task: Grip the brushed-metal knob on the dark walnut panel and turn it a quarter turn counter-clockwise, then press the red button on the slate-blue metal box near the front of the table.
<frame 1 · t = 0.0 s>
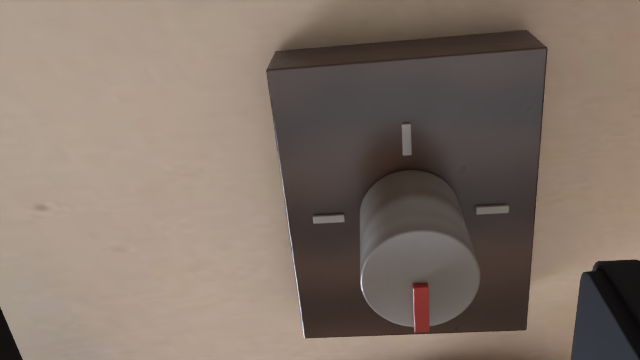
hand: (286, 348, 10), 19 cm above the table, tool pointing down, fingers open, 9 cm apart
knob: (414, 246, 24), point 6 cm above the table, hinge at 0.0°
dial panel: (404, 182, 29), on the table
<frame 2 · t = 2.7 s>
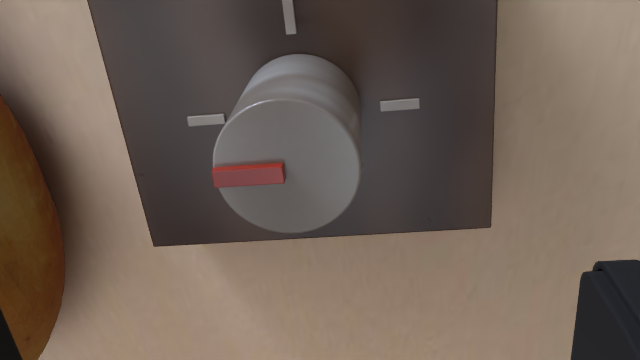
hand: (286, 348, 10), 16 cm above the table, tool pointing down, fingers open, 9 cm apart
knob: (294, 139, 19), point 6 cm above the table, hinge at 0.0°
dial panel: (308, 87, 24), on the table
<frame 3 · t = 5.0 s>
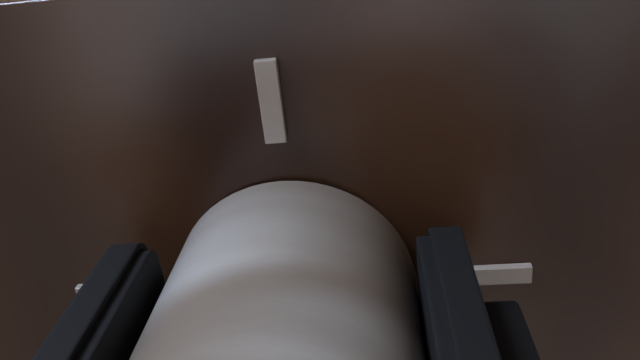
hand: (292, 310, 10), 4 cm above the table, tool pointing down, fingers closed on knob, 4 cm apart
dial panel: (308, 204, 14), on the table
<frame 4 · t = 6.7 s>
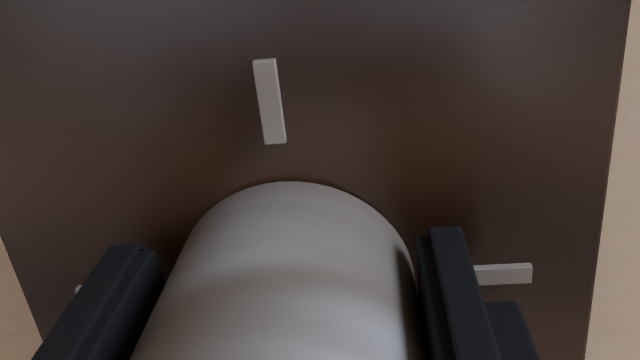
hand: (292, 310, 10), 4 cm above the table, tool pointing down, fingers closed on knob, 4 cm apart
dial panel: (308, 204, 14), on the table
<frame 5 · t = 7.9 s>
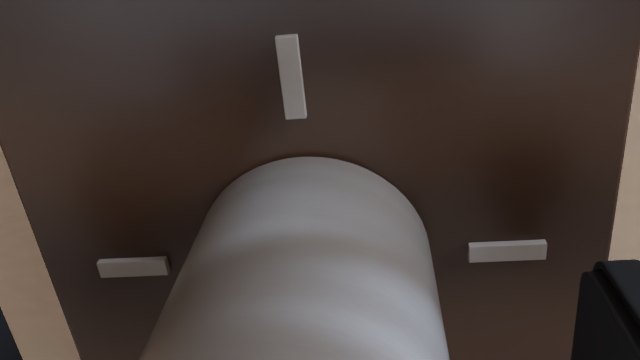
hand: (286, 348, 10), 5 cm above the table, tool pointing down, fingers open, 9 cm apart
knob: (300, 358, 9), point 6 cm above the table, hinge at 88.6°
dial panel: (323, 184, 14), on the table
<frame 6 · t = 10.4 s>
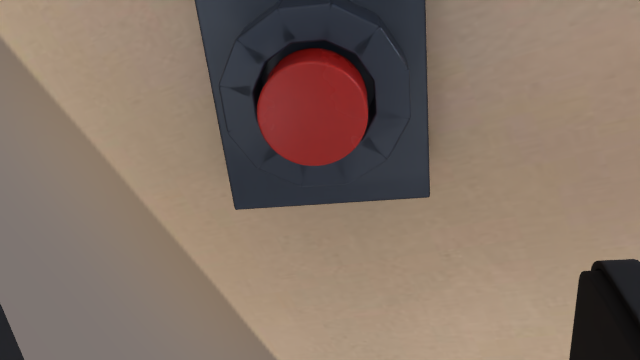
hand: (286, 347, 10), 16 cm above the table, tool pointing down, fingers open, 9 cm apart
button box: (321, 66, 24), on the table
button: (313, 107, 20), point 5 cm above the table, slide at 0.1 cm
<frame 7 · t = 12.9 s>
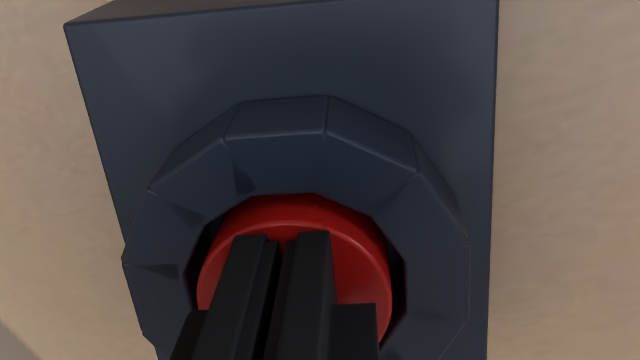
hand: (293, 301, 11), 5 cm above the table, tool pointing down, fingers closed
button box: (311, 184, 15), on the table
button: (297, 278, 11), point 4 cm above the table, slide at -0.8 cm, touching gripper
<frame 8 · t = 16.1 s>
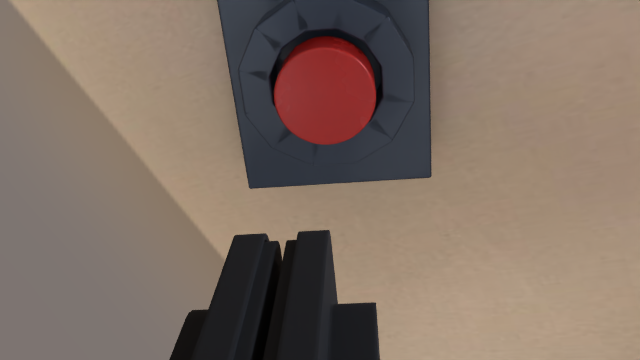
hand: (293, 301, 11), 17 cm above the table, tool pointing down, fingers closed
button box: (331, 54, 26), on the table
button: (325, 90, 21), point 5 cm above the table, slide at 0.1 cm
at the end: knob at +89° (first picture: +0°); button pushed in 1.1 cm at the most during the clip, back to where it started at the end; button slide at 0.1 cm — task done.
